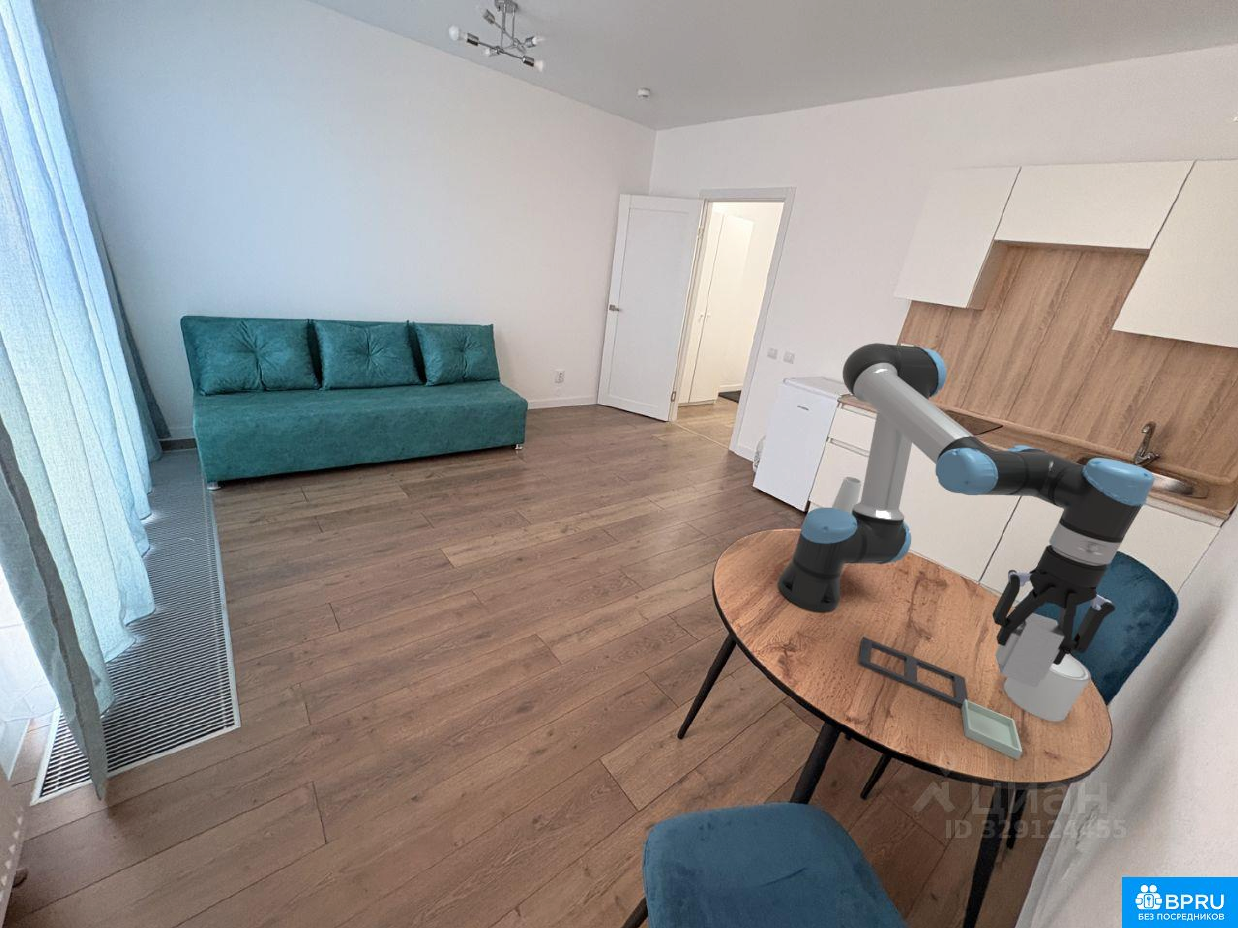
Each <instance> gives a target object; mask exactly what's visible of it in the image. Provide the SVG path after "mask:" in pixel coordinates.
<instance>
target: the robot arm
mask: <svg viewBox="0 0 1238 928" xmlns="http://www.w3.org/2000/svg"><path fill="white" fill-rule="evenodd" d="M946 378H947V367H946V364H945V361H944V359H943V358H942V357H941V355H940V354H939V353H938V352H937V351H935V350H933V349H930V348H925V347H921V346H910V345H899V344H898V345H897V344H888V343H887V344H886V343H879V342H878V343H876V342H875V343H869V344H868V343H867V344H865V345H863V346H860V347H859V348H857V349H855V350H854V351H852V353H850V355H849V356H848V357H847V359H846V360H845V362H844V364H843V368H842V380H843V383H844V385H845V387H846V388H847V390H848V391H849V392H850V394H851V395H852V396H854V397H855V399H857V400H858V401H860V403H861V402H862V403H868V404H870V405H871V406H872V407H873V408H874V409H875V410H876V411H877V412H876V417H875V422H874V428H873V433H872V439H871V443H870V449H869V454H868V460H867V465H866V470H865V471H866V472H865V475H864V477H865V478H864V482H863V486H862V487H863V488H862V491H861V493H862V494H861V497H860V502H857V504H856V505H855V506H853V509H852V515H851V514H850V513H848V512H846V511H843V510H840V509H838V510H836V509H835V508H831V507H817V508H814V509H812V510H811V511H809V512H807V514H805V515H806V516H805V518H804V520H803V522H802V523H801V524H802V525H801V526H800V533H799V537H798V540H797V543H796V547H795V550H794V553H793V556H792V557H793V558H792V560H791V562H790V563H789V564H788V566H786V568H785V569H784V571H782V573H781V575H780V576H779V580H778V583H779V584H778V585H777V586H779V587H778V589H780V590H781V592H782V593H783V594H782V593H781V592H780V593H781V594H782V596H783V595H784V596H785V597H786V598H785V597H784V596H783V597H784V598H785V599H786V600H788V599H789V600H790V601H791V602H790V601H789V600H788V601H789V602H790V603H792V602H793V603H792V604H794V605H795V604H796V605H795V606H797V607H800V608H802V609H805V610H807V611H812V612H816V613H829V612H832V611H834V610H835V609H837V608H838V606H839V603H840V600H841V582H840V576H841V573H842V570H843V568H844V565H845V564H876V565H877V564H878V565H884V564H891V563H892V564H893V563H896V562H898V561H900V560H902V559H903V558H905V556H906V555H907V554H908V552H909V550H910V547H911V545H912V534H911V532H909V531H910V527H909V526H908V524H907V523H906V522H905V521H904V520H905V515H904V513H902V512H901V510H900V504H901V498H902V495H903V490H904V486H905V485H904V484H905V480H906V475H907V471H908V465H909V460H910V457H911V449H912V445H915V447H916V448H917V449H919V451H921V452H922V453H923V454H924V455H925V456H926V457H927V458H928V459H930V460H931V461H932V463H934V464H935V471H934V472H935V476H937V480H938V481H937V482H938V484H939V485H940V486H941V487H942V488H943V489H944V490H947V491H948V492H950V493H954V494H963V495H966V496H981V495H982V496H1015V497H1016V496H1017V497H1019V496H1020V497H1023V496H1024V497H1034V498H1037V499H1040V500H1041V501H1044V502H1047V503H1048V504H1050V505H1051V504H1052V505H1053V506H1055V507H1058V508H1060V509H1061V508H1062V509H1063V511H1062V513H1061V516H1060V518H1059V521H1058V522H1057V524H1056V527H1055V528H1054V530H1053V532H1052V534H1051V536H1050V538H1049V540H1048V543H1049V545H1046V547H1045V548H1044V550H1043V551H1042V552H1043V553H1042V555H1040V556H1041V557H1040V558H1039V561H1038V562H1037V565H1036V567H1035V568H1034V569H1032V570H1030V571H1029V572H1017V571H1016V570H1015V569H1011V570H1008V573H1007V575H1008V576H1007V579H1008V580H1007V581H1008V582H1007V584H1006V586H1005V588H1004V590H1003V592H1002V593H1001V596H1000V598H999V600H998V602H997V604H996V605H995V608H994V610H993V612H992V618H993V622H994V623H995V625H997V626H1000V628H999V631H998V632H997V635H996V641H997V644H998V645H999V646H998V648H997V650H996V652H995V655H994V656H995V658H996V661H997V664H998V663H999V664H1001V665H1003V663H1004V661H1005V659H1006V657H1007V655H1008V653H1009V651H1010V649H1011V648H1012V646H1013V644H1014V642H1015V640H1016V638H1017V633H1016V630H1015V629H1016V628H1017V627H1019V626H1020V625H1021V624H1022V623H1023V622H1024V621H1025V620H1026V619H1027V618H1028V617H1029V616H1030V615H1031V614H1032V613H1035V611H1036V610H1037V609H1039V608H1041V607H1043V606H1044V605H1045V604H1053V605H1056V606H1057V607H1059V608H1060V609H1059V619H1058V625H1059V627H1060V629H1061V631H1062V633H1063V635H1064V639H1063V640H1062V642H1061V644H1060V646H1059V648H1058V649H1057V651H1056V653H1055V655H1054V657H1053V658H1052V660H1051V662H1050V664H1049V666H1048V668H1047V669H1046V671H1045V673H1044V675H1043V677H1042V678H1041V680H1044V678H1045V676H1046V674H1047V673H1048V671H1049V669H1050V667H1051V665H1052V663H1053V664H1056V665H1059V664H1060V663H1061V662H1062V660H1063V658H1064V656H1065V655H1066V654H1069V655H1071V654H1072V652H1073V651H1074V652H1075V651H1076V652H1077V653H1079V654H1084V653H1086V652H1087V649H1088V648H1089V646H1090V644H1091V643H1092V641H1093V639H1094V637H1095V635H1096V634H1097V631H1099V628H1100V626H1101V625H1102V623H1103V621H1104V619H1105V618H1106V617H1107V616H1108V615H1109V614H1111V613H1112V612H1114V611H1115V610H1116V607H1115V605H1114V604H1113V603H1112V601H1111V599H1110V598H1108V597H1106V596H1101V595H1099V594H1098V593H1097V588H1098V586H1099V585H1100V583H1101V581H1102V579H1103V578H1104V576H1105V574H1106V572H1107V571H1108V565H1109V564H1111V563H1112V561H1113V560H1114V559H1115V558H1114V557H1115V556H1116V554H1117V552H1118V550H1119V548H1120V547H1121V545H1122V543H1123V541H1124V539H1125V537H1126V534H1127V533H1128V531H1129V529H1130V528H1131V525H1132V524H1133V522H1135V519H1136V517H1137V515H1138V514H1139V513H1140V511H1141V509H1142V507H1143V506H1145V505H1146V503H1147V498H1148V496H1149V493H1150V491H1151V490H1152V488H1153V485H1154V484H1155V475H1154V474H1153V473H1152V472H1151V471H1149V470H1147V469H1146V468H1143V467H1141V466H1138V465H1135V464H1132V463H1128V462H1127V463H1126V462H1123V461H1119V460H1116V459H1111V458H1103V457H1095V458H1094V457H1093V458H1091V459H1090V460H1088V462H1087V463H1086V465H1084V464H1080V463H1078V462H1075V461H1073V460H1069V459H1066V458H1063V457H1062V456H1058V455H1055V454H1052V453H1050V452H1048V451H1046V450H1045V449H1041V448H1034V447H1032V446H1028V445H1015V446H1013V447H1012V448H1008V449H1006V450H995V449H992V448H991V447H990V446H988V445H986V443H984V442H983V441H981V440H980V439H979V438H977V437H976V436H975V435H974V434H973V433H971V432H970V431H968V430H967V429H966V428H965V427H963V426H962V425H961V424H959V423H958V422H957V421H955V419H953V418H952V417H951V416H949V415H948V414H946V413H945V412H944V411H943V410H942V409H940V408H939V407H938V406H936V405H935V404H934V403H933V402H932V401H930V398H932V397H934V396H937V395H938V394H939V391H941V390H942V388H943V387H944V385H945V382H946ZM1027 582H1030V583H1031V585H1032V589H1031V590H1030V591H1029V593H1028V595H1027V596H1025V598H1024V599H1023V600H1022V601H1021V602H1020V603H1019V604H1018V605H1017V606H1016V607H1015V608H1014V609H1013V610H1012V611H1011V612H1010V610H1011V608H1012V607H1013V605H1014V603H1015V600H1016V598H1017V597H1018V595H1019V592H1020V590H1021V587H1022V588H1023V587H1024V586H1025V585H1026V583H1027ZM780 590H779V591H780ZM1087 602H1090V603H1089V604H1090V606H1089V608H1088V610H1087V611H1086V614H1085V615H1084V616H1083V618H1082V620H1081V623H1080V625H1079V627H1078V628H1077V630H1076V632H1075V634H1074V636H1073V630H1074V623H1075V622H1074V621H1075V617H1076V612H1077V607H1078V606H1079V605H1082V604H1084V603H1087ZM1009 612H1010V613H1009ZM1072 636H1073V637H1072Z"/></svg>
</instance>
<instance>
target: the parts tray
mask: <svg viewBox="0 0 1238 928" xmlns="http://www.w3.org/2000/svg"><path fill="white" fill-rule="evenodd" d="M968 706H969V708H968ZM960 710H961V715H962V725H963V731H964V737H966V738H967V739H970V740H972V741H974V742H976V743H979V744H981V745H983V746H985V747H988V748H990V749H992V750H995V751H996V752H999V753H1001V754H1003V755H1006V756H1008V757H1010V758H1012V759H1014V760H1017V761H1018V760H1019V759H1020V757H1021V756H1022V754H1023V748H1022V746H1021V742H1020V737H1019V734H1018V729H1017V726H1016V722H1015V719H1013V718H1011V717H1008V716H1006V715H1004V714H1001V713H999V712H996V711H995V710H991V709H989V708H988V707H985V706H983V705H979V704H977V703H975V702H973V701H970V700H969V699H968V700H966V699H965V700H964V702H963V706H962V708H960Z"/></svg>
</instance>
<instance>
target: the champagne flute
mask: <svg viewBox="0 0 1238 928" xmlns="http://www.w3.org/2000/svg"><path fill="white" fill-rule="evenodd" d="M861 486H862V480H860V479H859V478H857V477H852V476H845V477H844V478H843V480H842V483H841V484H840V487H839V489H838V492H837V495H836V496H835V498H834V501H833V503H832V506H831V507H830V508H835V509H836V510H838V509H840V510H843V511H846V512H848V513H850V514H851V515H852V509H853V506H855V505H856V504H858V503H859V502H858V501H859V497H860V494H861V493H860V492H861Z"/></svg>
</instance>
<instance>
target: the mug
mask: <svg viewBox="0 0 1238 928" xmlns="http://www.w3.org/2000/svg"><path fill="white" fill-rule="evenodd" d="M1091 679H1092V676H1091V672H1090V671H1089V670H1088V668H1087V667H1086V666H1085V665H1084V664H1083V663H1082V662H1080V661H1079V660H1078V659H1077V658H1075V657H1074V656H1072V655H1071V654H1066V655H1065V656H1064V658H1063V660H1062V662H1061V663H1060V664H1059V665H1056V664H1053V663H1052V665H1051V667H1050V669H1049V671H1048V673H1047V674H1046V676H1045V678H1044V680H1040V682H1039V684H1038V686H1037V687H1033V686H1030V685H1028V684H1025V683H1023V682H1020V681H1017V680H1015V679H1012V678H1009V677H1007V678H1006V680H1005V681H1004V683H1003V690H1004V692H1005V693H1006V695H1007V696H1008V698H1010V700H1011V701H1012V702H1013V703H1014V704H1016V705H1017V706H1018V707H1019V708H1021V709H1022V710H1024V711H1025V712H1027V713H1029V714H1030V715H1033V716H1035V717H1037V718H1039V719H1041V720H1045V721H1047V722H1055V723H1058V722H1064V720H1065V718H1066V717H1067V716H1068V715H1069V712H1070V711H1071V710H1072V708H1073V707H1074V705H1075V704H1076V701H1077V700H1078V698H1079V697H1080V695H1081V694H1082V692H1083V691H1084V689H1085V688H1086V686H1087V685H1088V683H1089V681H1090V680H1091Z"/></svg>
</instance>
